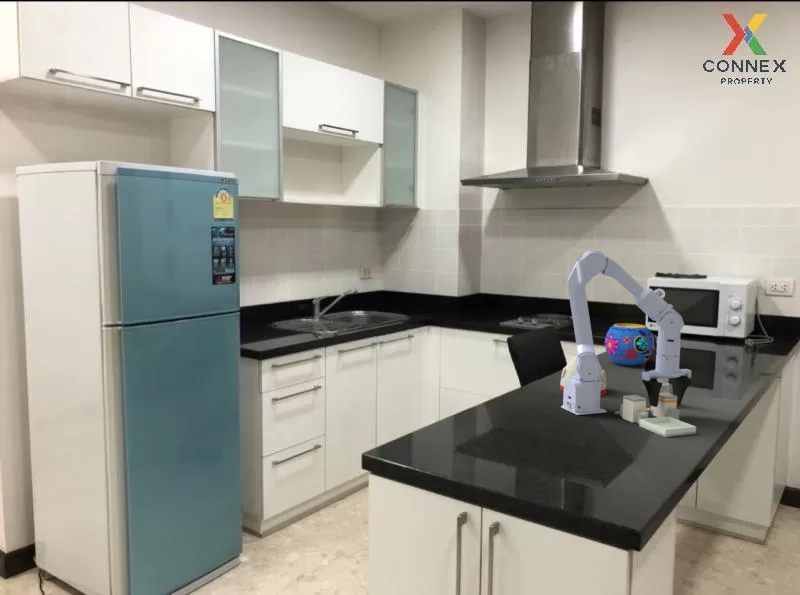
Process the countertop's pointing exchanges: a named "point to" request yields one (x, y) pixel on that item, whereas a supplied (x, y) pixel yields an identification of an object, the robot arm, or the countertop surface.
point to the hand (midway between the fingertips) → (665, 404)
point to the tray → (667, 426)
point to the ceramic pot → (630, 344)
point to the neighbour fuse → (633, 407)
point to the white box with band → (665, 404)
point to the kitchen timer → (572, 370)
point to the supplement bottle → (664, 385)
